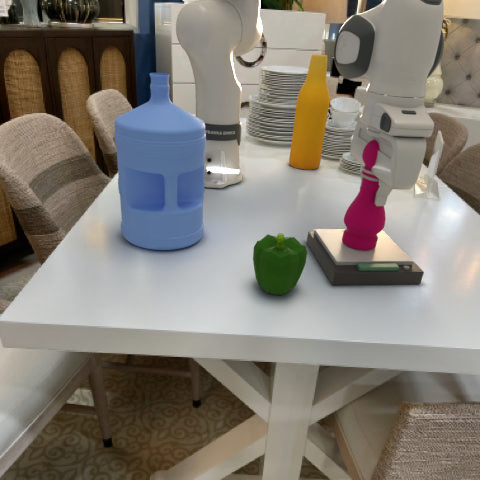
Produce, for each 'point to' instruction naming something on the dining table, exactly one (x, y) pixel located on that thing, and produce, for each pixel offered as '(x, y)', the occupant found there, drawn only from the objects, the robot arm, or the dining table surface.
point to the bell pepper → (278, 263)
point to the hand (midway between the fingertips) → (371, 198)
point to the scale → (362, 260)
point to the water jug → (160, 171)
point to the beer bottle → (310, 117)
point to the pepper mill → (365, 207)
